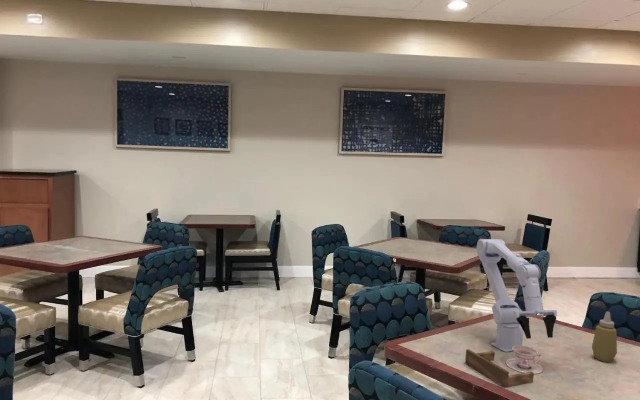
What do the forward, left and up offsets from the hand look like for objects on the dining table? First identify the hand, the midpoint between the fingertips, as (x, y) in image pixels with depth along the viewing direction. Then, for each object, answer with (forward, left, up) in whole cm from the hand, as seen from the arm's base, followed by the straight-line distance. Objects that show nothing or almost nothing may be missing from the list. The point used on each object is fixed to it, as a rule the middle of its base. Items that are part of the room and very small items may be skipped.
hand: (539, 338), depth 161 cm
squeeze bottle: (-32, +2, -11) cm, 34 cm away
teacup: (+3, -3, -11) cm, 12 cm away
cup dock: (+16, -2, -11) cm, 19 cm away
